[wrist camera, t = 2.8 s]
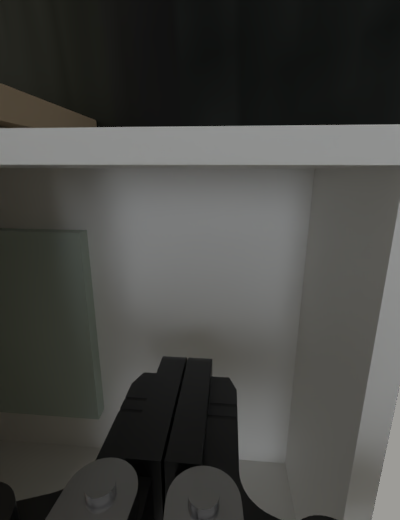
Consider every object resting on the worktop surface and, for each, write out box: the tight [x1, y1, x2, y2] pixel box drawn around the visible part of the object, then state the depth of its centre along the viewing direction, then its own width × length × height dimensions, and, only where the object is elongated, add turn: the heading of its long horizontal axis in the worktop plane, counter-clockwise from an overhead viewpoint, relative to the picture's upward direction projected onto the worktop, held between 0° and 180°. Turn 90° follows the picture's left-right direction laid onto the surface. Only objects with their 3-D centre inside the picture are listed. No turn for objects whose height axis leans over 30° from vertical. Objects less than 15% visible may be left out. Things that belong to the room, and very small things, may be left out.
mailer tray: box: [0, 124, 400, 520], centre depth 10 cm, size 14×19×6 cm
